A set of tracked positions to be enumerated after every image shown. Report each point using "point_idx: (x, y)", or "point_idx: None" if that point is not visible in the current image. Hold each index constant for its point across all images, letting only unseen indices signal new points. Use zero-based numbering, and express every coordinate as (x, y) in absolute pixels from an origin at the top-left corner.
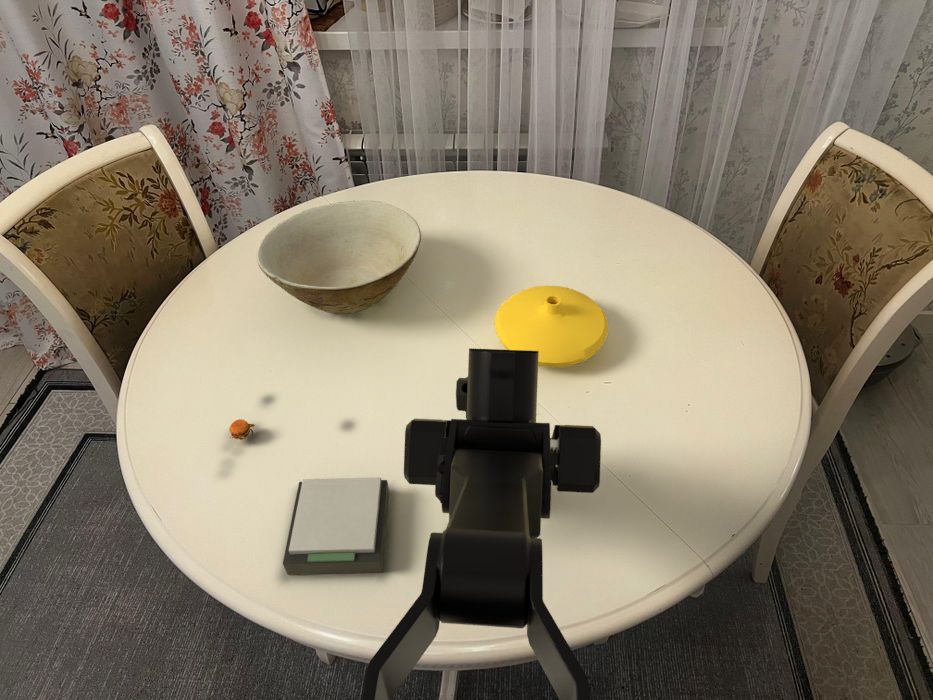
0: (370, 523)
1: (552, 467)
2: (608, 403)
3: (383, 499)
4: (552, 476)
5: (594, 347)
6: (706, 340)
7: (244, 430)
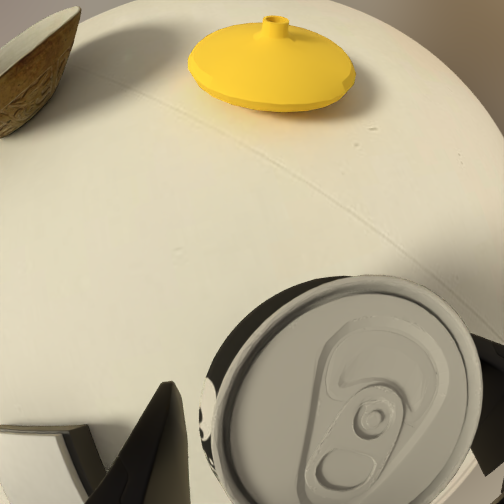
0: None
1: (498, 449)
2: (390, 159)
3: (80, 470)
4: (489, 462)
5: (350, 79)
6: (427, 84)
7: None
